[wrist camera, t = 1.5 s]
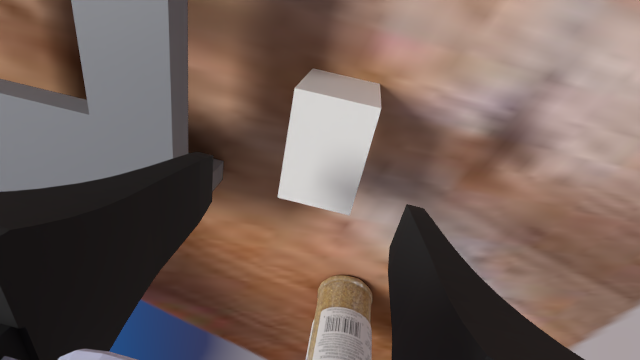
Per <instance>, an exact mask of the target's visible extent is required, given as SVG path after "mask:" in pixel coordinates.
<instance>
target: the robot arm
mask: <svg viewBox="0 0 640 360" xmlns="http://www.w3.org/2000/svg"><path fill="white" fill-rule="evenodd" d="M212 181H213V155H209V154H205V153H201V152H193V153H189V154H186V155H182V156H179V157H176V158H173V159H170V160H167V161H164V162H160V163H157V164H154V165H151V166H148V167H144V168H141V169H137V170H134V171H130V172H127V173H123V174H119V175H115V176H111V177H107V178H103V179H98V180H93V181H88V182H82V183H76V184H69V185H62V186H55V187H47V188H40V189H29V190H18V191H4V192H3V191H0V360H137V359H133V358H129V357H126V356H122V355H119V354H115V353H112V352H109V350H110V348H111V347H112V345H113V344H114V342H115V340H116V338H117V337H118V335H119V333H120V332H121V330H122V328H123V327H124V325H125V323H126V322H127V320H128V318H129V317H130V315H131V314H132V312H133V310H134V309H135V307H136V306H137V304H138V302H139V301H140V299H141V298H142V296H143V295H144V293H145V292H146V290H147V289H148V287H149V286H150V284H151V283H152V281H153V280H154V278H155V277H156V275H157V274H158V273H159V271H160V270H161V269H162V267H163V266H164V265H165V264H166V262H167V261H168V260H169V259H170V258H171V256H172V255H173V254H174V253H175V252H176V250H177V249H178V248H179V247H180V245H181V244H182V243H183V242H184V241H185V239H186V238H187V237H188V236H189V235H190V233H191V232H192V231H193V230H194V228H195V227H196V226H197V225H198V223H199V222H200V221H201V219H202V217H203V216H204V214H205V213H206V211H207V209H208V207H209V206H210V204H211V202H212ZM388 279H389V294H390V308H391V322H392V360H584V359H583V358H581V357H580V356H578V355H576V354H575V353H573V352H572V351H570V350H569V349H567V348H566V347H564V346H563V345H561V344H560V343H559V342H557V341H556V340H555V339H553V338H552V337H550V336H549V335H548V334H546V333H545V332H544V331H542V330H541V329H539V328H538V327H537V326H535V325H534V324H533V323H532V322H530V321H529V320H528V319H526V318H525V317H524V316H523V315H521V314H520V313H519V312H518V311H517V310H515V309H514V308H513V307H512V306H511V305H509V304H508V303H507V302H506V301H505V300H504V299H502V298H501V297H500V296H499V295H498V294H497V293H496V292H495V291H494V290H493V289H492V288H491V287H490V286H489V285H488V284H486V283H485V282H484V281H483V280H482V279H481V278H480V277H479V276H478V275H477V274H476V273H475V271H474V270H473V269H472V268H471V267H470V266H469V265H468V264H467V263H466V261H465V260H464V259H463V258H462V257H461V256H460V255H459V253H458V252H457V251H456V250H455V249H454V247H453V246H452V245H451V244H450V242H449V241H448V240H447V238H446V237H445V236H444V235H443V233H442V232H441V231H440V229H439V228H438V227H437V225H436V224H435V222H434V221H433V220H432V218H431V217H430V216H429V214H428V213H427V212H426V211H425V209H424V208H420V207H416V206H412V205H408V204H407V205H406V207H405V210H404V212H403V215H402V217H401V220H400V223H399V225H398V228H397V230H396V233H395V235H394V238H393V240H392V243H391V245H390V250H389V264H388Z"/></svg>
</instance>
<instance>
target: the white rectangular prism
mask: <svg viewBox="0 0 640 360" xmlns="http://www.w3.org/2000/svg"><path fill="white" fill-rule="evenodd" d="M380 112H381V93H380V84H378V83H374V82H370V81H365V80H361V79H357V78H353V77H348V76H344V75H340V74H335V73H331V72H327V71H323V70H318V69H314V68H313V69H312V70H311V71H310V72H309V73H308V74H307V75H306V76H305V77H304V78H303V79H302V80H301V82H300V83H299V84H298V85H297V86H296V87H295V89H294V96H293V102H292V108H291V115H290V121H289V127H288V134H287V140H286V147H285V153H284V159H283V166H282V172H281V178H280V185H279V191H278V198H281V199H285V200H289V201H293V202H297V203H301V204H305V205H310V206H314V207H318V208H322V209H326V210H330V211H334V212H338V213H342V214H346V215H350V213H351V209H352V206H353V203H354V199H355V196H356V192H357V189H358V186H359V182H360V179H361V176H362V172H363V169H364V166H365V162H366V159H367V155H368V152H369V149H370V145H371V142H372V139H373V135H374V132H375V129H376V125H377V122H378V118H379V115H380Z"/></svg>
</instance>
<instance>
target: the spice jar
mask: <svg viewBox="0 0 640 360" xmlns="http://www.w3.org/2000/svg"><path fill="white" fill-rule="evenodd" d="M317 298H318V302H317V307H316V313H315V318H314V320H313V323H312V329H311V334H310V339H309V345H308V350H307V356H306V360H371V345H372V332H371V304H372V292H371V290H370V289H369V288H368V286H367V285H366V284H365V283H364V282H362V281H361V280H360V279H357V278H354V277H350V276H345V275H341V276H340V275H338V276H333V277H330V278H328V279H326V280H325V281H323V282H322V283H321V285H320V287H319V289H318V297H317Z"/></svg>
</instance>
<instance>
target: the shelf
mask: <svg viewBox="0 0 640 360" xmlns="http://www.w3.org/2000/svg"><path fill="white" fill-rule="evenodd" d="M71 3H72V9H73V15H74V21H75V28H76V34H77V40H78V46H79V53H80V59H81V65H82V71H83V78H84V84H85V90H86V96H87V100H85V99H81V98H77V97H73V96H69V95H65V94H61V93H57V92H52V91H48V90H44V89H40V88H36V87H32V86H28V85H24V84H19V83H15V82H11V81H7V80H3V79H0V191H3V192H4V191H18V190H29V189H40V188H47V187H55V186H62V185H69V184H76V183H82V182H88V181H93V180H98V179H103V178H107V177H111V176H115V175H119V174H123V173H127V172H130V171H134V170H137V169H141V168H144V167H148V166H151V165H154V164H157V163H160V162H164V161H167V160H170V159H173V158H176V157H179V156H182V155H186V154H189V153H188V0H71ZM223 163H224V161H221V160H217V159H213V181H212V191H213V190H214V189H215V188H216V187H217V185H218V184H219V183H220V182H221V181H222V180H223Z"/></svg>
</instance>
